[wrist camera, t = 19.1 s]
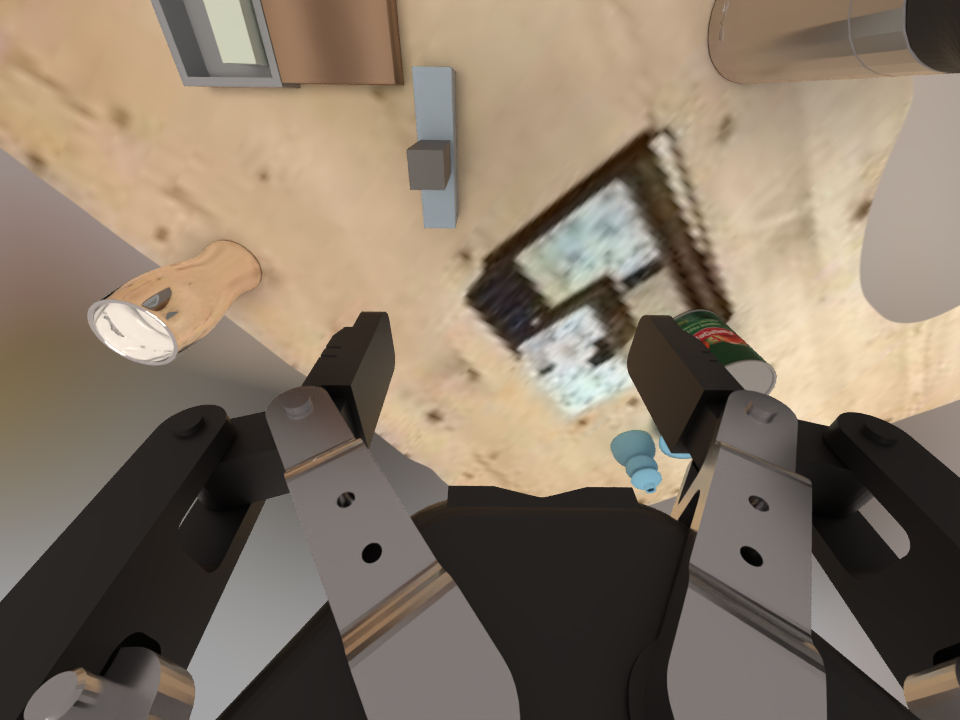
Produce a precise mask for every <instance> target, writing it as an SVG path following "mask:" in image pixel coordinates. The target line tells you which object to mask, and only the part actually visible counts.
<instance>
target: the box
mask: <svg viewBox="0 0 960 720" xmlns="http://www.w3.org/2000/svg"><path fill="white" fill-rule="evenodd" d="M151 3H152V5H153V8H154V10H155V13H156V15H157V18H158V21H159V23H160V26H161V28H162V31H163V33H164V36H165V39H166V41H167V44H168V46H169V49H170V51H171V54H172V56H173V59H174V62H175V64H176V67H177V69H178V72H179V74H180V77H181V79H182V82H183V85H184V86H196V87H250V88H300V85H299V84H297V83H283V82H282V80H281V76H280V72H279V68H278V64H277V60H276V56H275V53H274V49H273V45H272V41H271V37H270V33H269V29H268V25H267V21H266V18H265V14H264V10H263V6H262V2H261V0H252V3H253V7H254V10H255V14H256V18H257V22H258V25H259V29H260V33H261V36H262V40H263V44H264V48H265V51H266V55H267V59H268V63H269V66H270V67H251V66H244V65H236V64H228V63H223V61H222V58H221V55H220V52H219V49H218V46H217V42H216V39H215V36H214V33H213V30H212V27H211V23H210V20H209V17H208V14H207V11H206V8H205V4H204V1H203V0H151Z"/></svg>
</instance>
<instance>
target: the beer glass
mask: <svg viewBox="0 0 960 720" xmlns="http://www.w3.org/2000/svg"><path fill="white" fill-rule="evenodd" d="M260 280H261V269H260V266H259V264H258V262H257V260H256V259H255V257H254V256H253V255H252V254H251V253H250V252H249V251H248V250H247V249H245V248H244V247H242V246H240V245H239V244H236V243H234V242H231V241H225V240H221V241H215V242H213V243H211V244H210V245H208V246H207V247H206V248H205V249H204V251H203V252H202V253H201V254H199V255H198V256H197V257H195V258H192V259H190V260H186V261H183V262H179V263H175V264H171V265H168V266H164V267H161V268H158V269H155V270H152V271H149V272H147V273H145V274H142V275H140V276H138V277H136V278H134V279H132V280H130V281H129V282H127V283H125V284H123V285H122V286H120V287H119V288H117V289H116V290H114V291H113V292H111V293H110V294H108V295H107V296H105V297H104V298H102V299H101V300H99V301H97V302H95V303H94V304H92V305H91V306H90V308H89V310H88V316H87V317H88V322H89V325H90V327H91V329H92V331H93V332H94V333H95V335H96V336H97V337H98V338H99V339H100V340H101V341H102V342H103V343H104V344H105V345H106V346H107V347H109V348H110V349H111V350H113V351H114V352H116V353H118V354H119V355H121V356H123V357H125V358H127V359H129V360H132V361H135V362H138V363H142V364H146V365H164V364H167V363H169V362H171V361H173V360H174V359H175V358H176V357H177V356H179V355H180V354H181V353H183V352H185V351H186V350H188V349H189V348H190V347H192V346H193V345H195V344H196V343H197V342H198V341H200V340H201V339H202V338H203V337H205V336H206V335H207V334H208V333H209V332H210V331H211V330H212V329H213V328H214V327H215V325H216V324H217V323H218V322H219V321H220V320H221V318H222V317H223V315H224V314H225V313H226V311H227V310H228V308H229V307H230V305H231V304H232V302H233V301H234V300H235V299H236V298H237V297H238V296H239V295H241V294H242V293H245V292H247V291H249V290H251V289H253V288H255V287H256V286H257V285H258V284H259V282H260Z"/></svg>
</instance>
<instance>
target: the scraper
mask: <svg viewBox="0 0 960 720" xmlns="http://www.w3.org/2000/svg"><path fill="white" fill-rule="evenodd" d="M412 74H413V87H414V100H415V113H416V126H417V139H418V142H417V143H415V144H414V145H412V146H411V147H410V148H408V149H407V160H408V171H409V181H410V190H421V192H422V205H423V218H424V228H456V222H457V217H458V194H457V143H456V93H455V70H454V69H453V68H452V67H421V66H412Z"/></svg>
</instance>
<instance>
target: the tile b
mask: <svg viewBox="0 0 960 720" xmlns="http://www.w3.org/2000/svg"><path fill="white" fill-rule="evenodd" d="M203 1H204V4H205V8H206V11H207V14H208V17H209V20H210V23H211V27H212V30H213V33H214V36H215V39H216V42H217V46H218V49H219V52H220V55H221V58H222V61H223V63H228V64H236V65H244V66H251V67H270V66H269V63H268V59H267V55H266V51H265V48H264V44H263V40H262V36H261V33H260V29H259V25H258V22H257V18H256V14H255V10H254V7H253V3H252V0H203Z"/></svg>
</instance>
